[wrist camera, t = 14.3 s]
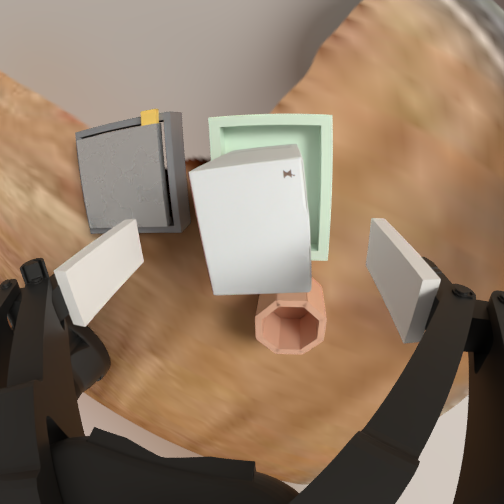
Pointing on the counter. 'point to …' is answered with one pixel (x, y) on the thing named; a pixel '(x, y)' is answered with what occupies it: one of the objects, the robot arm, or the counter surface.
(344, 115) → the counter surface
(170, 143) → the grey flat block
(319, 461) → the counter surface
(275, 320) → the cup
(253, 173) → the small box
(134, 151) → the grey flat square panel
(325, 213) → the mint green tray
